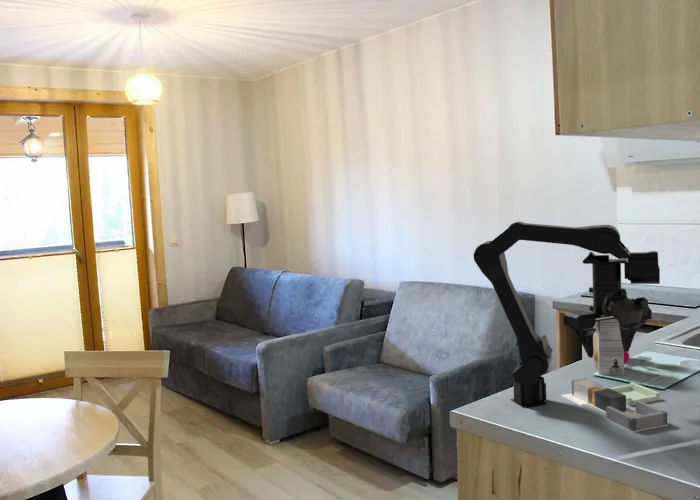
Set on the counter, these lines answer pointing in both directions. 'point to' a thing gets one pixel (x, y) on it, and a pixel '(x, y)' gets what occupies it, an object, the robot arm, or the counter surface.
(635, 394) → the pale green square tray
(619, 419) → the long white tray
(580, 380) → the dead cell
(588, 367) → the counter surface
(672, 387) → the counter surface
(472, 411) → the counter surface
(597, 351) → the coffee box
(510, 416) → the counter surface
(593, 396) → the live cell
